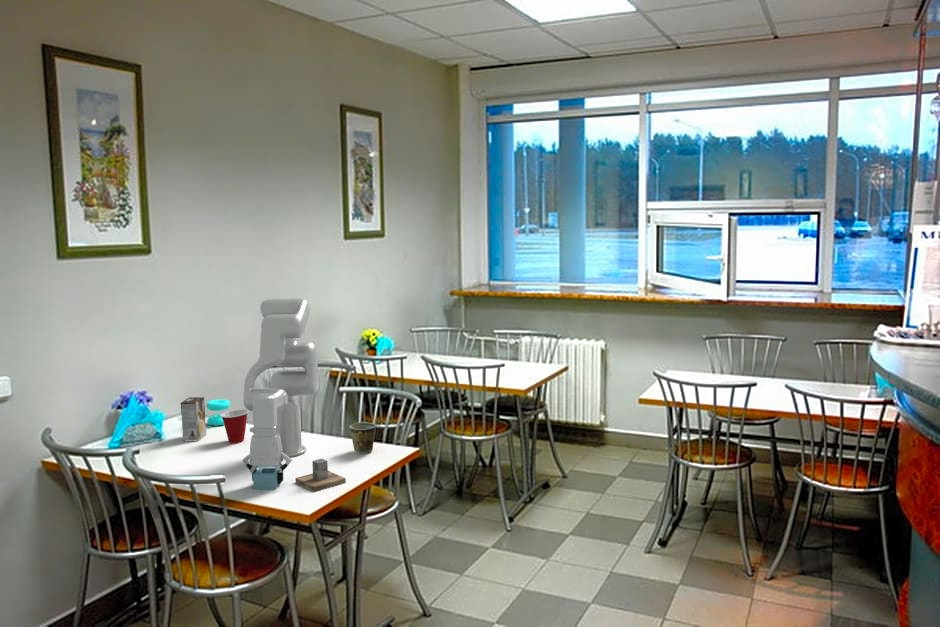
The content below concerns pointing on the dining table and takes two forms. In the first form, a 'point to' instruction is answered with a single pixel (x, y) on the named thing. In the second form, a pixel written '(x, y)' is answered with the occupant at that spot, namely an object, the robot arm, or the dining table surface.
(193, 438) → the coffee box
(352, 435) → the ceramic cup
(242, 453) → the dining table surface
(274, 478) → the blue hollow block
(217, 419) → the donuts
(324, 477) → the post base
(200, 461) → the dining table surface
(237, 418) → the plastic cup
